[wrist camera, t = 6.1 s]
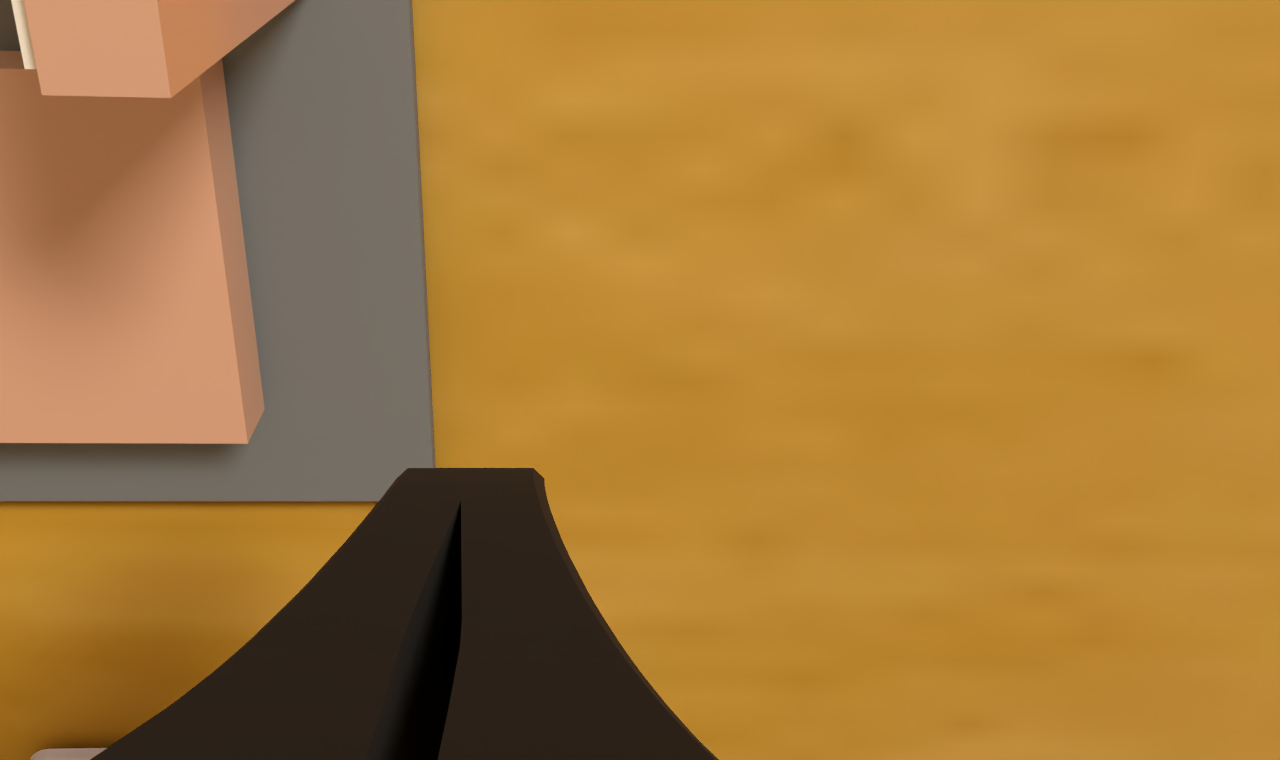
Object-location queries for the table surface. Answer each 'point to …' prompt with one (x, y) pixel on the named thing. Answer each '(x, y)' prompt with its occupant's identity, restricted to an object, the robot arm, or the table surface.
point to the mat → (301, 277)
